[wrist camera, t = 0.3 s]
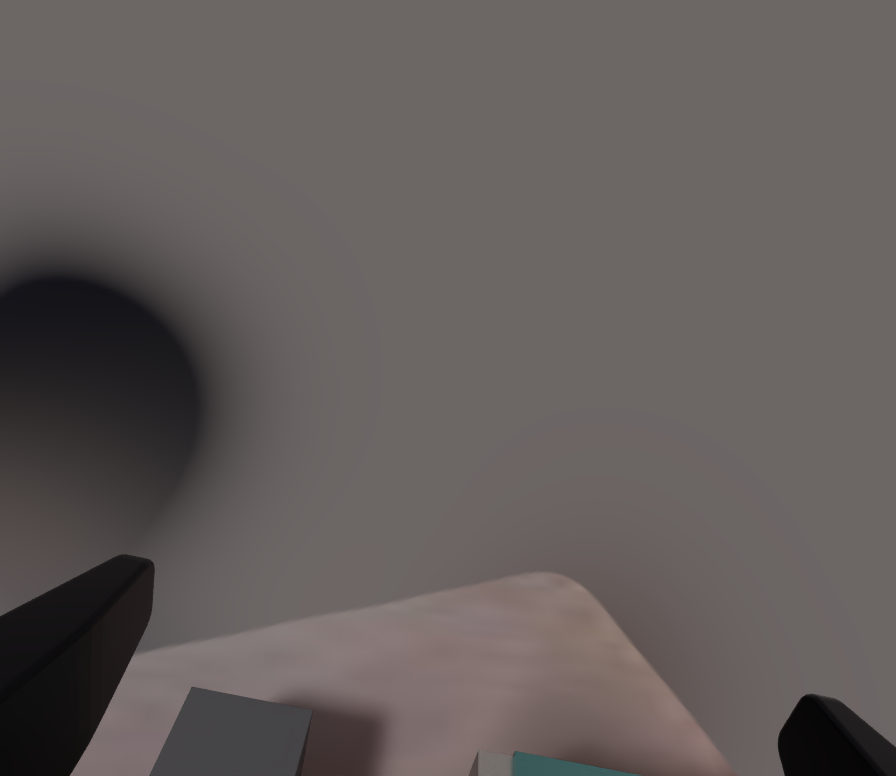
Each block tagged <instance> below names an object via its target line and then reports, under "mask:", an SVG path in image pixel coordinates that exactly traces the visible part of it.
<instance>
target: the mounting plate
mask: <svg viewBox="0 0 896 776" xmlns="http://www.w3.org/2000/svg"><path fill="white" fill-rule="evenodd" d="M468 776H642V775H637V774H631V773H626V772H621V771H616V770H611V769H605V768H600V767H595V766H590V765H585V764H579V763H574V762H569V761H564V760H559V759H553V758H548V757H543V756H538V755H533V754H527V753H522V752H517V751H515V752H514V754H513V756H509V755H503V754H498V753H493V752H488V751H483V750H478V753H477V755H476V758H475V760H474V763H473V765H472V768H471V770H470V773H469V775H468Z"/></svg>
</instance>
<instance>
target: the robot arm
mask: <svg viewBox="0 0 896 776" xmlns="http://www.w3.org/2000/svg"><path fill="white" fill-rule="evenodd" d="M154 574H155V568H154V563H153V562H152V561H151V560H149V559H146V558H141V557H136V556H132V555H126V554H124V555H123V554H122V555H118V556H116V557H114V558H112V559H110V560H108V561H106V562H104V563H102V564H100V565H98V566H96V567H94V568H92V569H90V570H89V571H87V572H85V573H83V574H81V575H79V576H77V577H75V578H73V579H71V580H69V581H67V582H65V583H64V584H62V585H60V586H58V587H56V588H54V589H52V590H50V591H48V592H46V593H44V594H42V595H40V596H38V597H36V598H35V599H32V600H31V601H29V602H27V603H25V604H23V605H21V606H19V607H17V608H15V609H13V610H11V611H9V612H7V613H5V614H4V615H2V616H0V776H70V774H71V773H72V771H73V770H74V768H75V766H76V765H77V763H78V761H79V760H80V758H81V756H82V755H83V753H84V751H85V750H86V748H87V746H88V744H89V743H90V741H91V739H92V737H93V735H94V733H95V731H96V729H97V727H98V725H99V723H100V721H101V719H102V717H103V715H104V713H105V711H106V709H107V707H108V705H109V703H110V701H111V699H112V697H113V695H114V693H115V691H116V689H117V687H118V685H119V683H120V680H121V678H122V676H123V674H124V672H125V670H126V668H127V666H128V664H129V662H130V660H131V658H132V656H133V654H134V652H135V650H136V648H137V646H138V644H139V642H140V640H141V638H142V636H143V634H144V631H145V629H146V627H147V625H148V622H149V620H150V616H151V612H152V604H153V588H154ZM778 750H779V756H780V759H781V763H782V767H783V770H784V774H785V776H896V747H895V746H894V745H892V744H891V743H890V742H889V741H888V740H886V739H885V738H884V737H883V736H882V735H880V734H879V733H878V732H877V731H876V730H874V729H873V728H872V727H871V726H869V725H868V724H867V723H866V722H865V721H864V720H862V719H861V718H860V717H859V716H858V715H856V714H855V713H854V712H853V711H852V710H851V709H849V708H848V707H847V706H846V705H845V704H843V703H842V702H840V701H839V700H837V699H834V698H830V697H826V696H820V695H816V694H807V695H805V696H803V697H802V698H801V699H800V700H799V702H798V703H797V705H796V707H795V708H794V710H793V711H792V713H791V715H790V717H789V718H788V720H787V721H786V723H785V724H784V726H783V728H782V729H781V731H780V733H779V737H778Z"/></svg>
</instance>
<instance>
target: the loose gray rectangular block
mask: <svg viewBox="0 0 896 776" xmlns="http://www.w3.org/2000/svg"><path fill="white" fill-rule="evenodd" d="M312 712H313V710H309V709H304V708H298V707H293V706H288V705H283V704H278V703H273V702H268V701H263V700H257V699H252V698H247V697H242V696H237V695H232V694H227V693H222V692H216V691H211V690H206V689H201V688H196V687H192V688H191V690H190V692H189V694H188V696H187V698H186V700H185V702H184V704H183V706H182V708H181V711H180V713H179V715H178V717H177V719H176V721H175V723H174V725H173V727H172V729H171V732H170V734H169V736H168V738H167V740H166V742H165V744H164V746H163V748H162V750H161V752H160V755H159V757H158V759H157V761H156V763H155V765H154V767H153V769H152V771H151V773H150V775H149V776H301V771H302V766H303V761H304V755H305V750H306V744H307V739H308V734H309V728H310V723H311V717H312Z"/></svg>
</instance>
